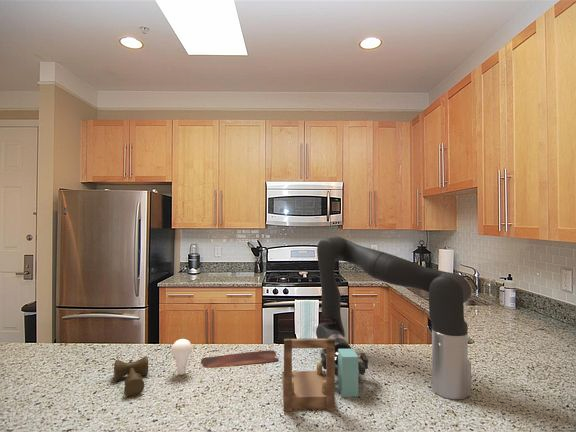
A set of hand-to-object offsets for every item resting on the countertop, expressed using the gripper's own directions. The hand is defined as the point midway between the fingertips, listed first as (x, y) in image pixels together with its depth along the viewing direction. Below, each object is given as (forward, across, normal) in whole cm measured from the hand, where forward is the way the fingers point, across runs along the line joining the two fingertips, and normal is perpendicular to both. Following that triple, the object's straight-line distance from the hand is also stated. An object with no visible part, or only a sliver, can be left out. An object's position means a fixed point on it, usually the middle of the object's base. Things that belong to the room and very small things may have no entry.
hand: (349, 371), depth 95 cm
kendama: (-10, -64, +7) cm, 65 cm away
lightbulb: (-14, -50, +7) cm, 52 cm away
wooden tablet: (-25, -33, +7) cm, 42 cm away
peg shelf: (-1, -12, +6) cm, 14 cm away
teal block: (-2, 0, +6) cm, 7 cm away
